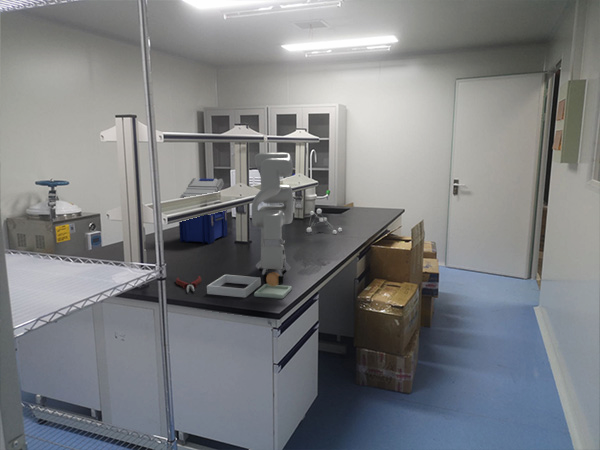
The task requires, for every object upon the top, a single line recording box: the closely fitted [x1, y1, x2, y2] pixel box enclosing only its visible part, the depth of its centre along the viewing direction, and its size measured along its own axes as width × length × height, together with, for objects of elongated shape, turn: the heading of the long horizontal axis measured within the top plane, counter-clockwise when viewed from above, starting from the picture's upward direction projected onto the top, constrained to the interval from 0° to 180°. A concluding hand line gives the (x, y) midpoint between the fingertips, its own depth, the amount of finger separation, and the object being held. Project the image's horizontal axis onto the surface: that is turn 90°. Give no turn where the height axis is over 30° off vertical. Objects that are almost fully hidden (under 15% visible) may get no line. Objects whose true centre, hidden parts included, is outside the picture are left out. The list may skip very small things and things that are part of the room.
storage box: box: [178, 177, 228, 245], centre depth 298 cm, size 29×23×40 cm
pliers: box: [175, 275, 202, 293], centre depth 202 cm, size 11×20×3 cm, turn 17°
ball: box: [266, 271, 280, 286], centre depth 192 cm, size 6×6×6 cm
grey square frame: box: [206, 274, 262, 298], centre depth 198 cm, size 18×18×4 cm
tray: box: [253, 283, 293, 300], centre depth 193 cm, size 13×13×2 cm
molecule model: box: [306, 208, 343, 235], centre depth 322 cm, size 14×25×18 cm, turn 81°
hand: (273, 283), depth 192 cm, fingers closed on ball, 5 cm apart
